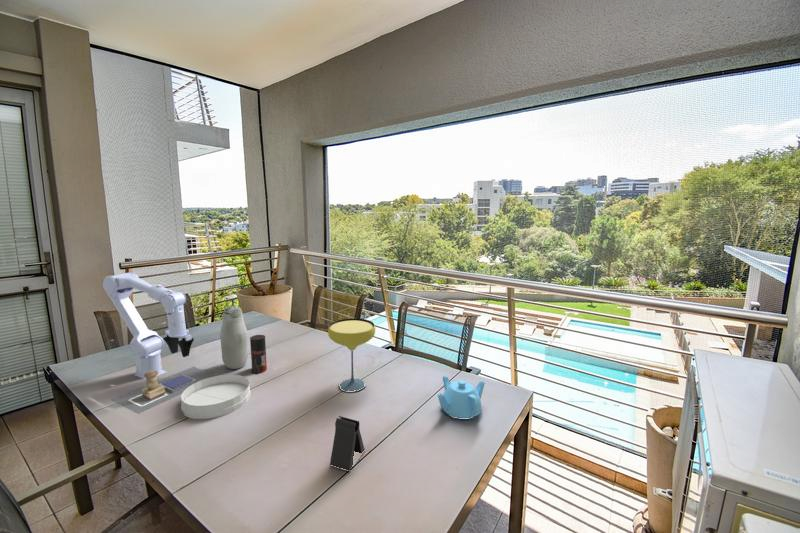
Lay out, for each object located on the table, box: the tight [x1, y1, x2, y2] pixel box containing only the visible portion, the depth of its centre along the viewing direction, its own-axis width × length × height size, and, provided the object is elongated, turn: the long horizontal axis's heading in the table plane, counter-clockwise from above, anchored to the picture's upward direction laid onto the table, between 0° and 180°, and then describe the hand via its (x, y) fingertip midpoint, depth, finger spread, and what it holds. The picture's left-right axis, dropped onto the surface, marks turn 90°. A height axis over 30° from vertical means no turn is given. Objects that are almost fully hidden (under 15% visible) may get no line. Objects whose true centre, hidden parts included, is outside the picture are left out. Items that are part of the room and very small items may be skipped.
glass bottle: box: [219, 305, 249, 370], centre depth 148 cm, size 10×10×28 cm
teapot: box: [437, 375, 486, 418], centre depth 119 cm, size 15×15×11 cm
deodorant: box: [249, 334, 268, 374], centre depth 146 cm, size 6×6×15 cm
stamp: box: [142, 370, 165, 400], centre depth 125 cm, size 5×5×9 cm
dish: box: [180, 374, 251, 420], centre depth 123 cm, size 22×22×5 cm
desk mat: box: [111, 366, 220, 414], centre depth 132 cm, size 18×30×1 cm, turn 153°
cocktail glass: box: [327, 318, 376, 391], centre depth 133 cm, size 18×18×25 cm
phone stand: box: [329, 415, 366, 470], centre depth 95 cm, size 9×6×12 cm, turn 158°
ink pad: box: [159, 375, 196, 393], centre depth 133 cm, size 9×9×2 cm
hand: (180, 354), depth 138 cm, fingers open, 7 cm apart
